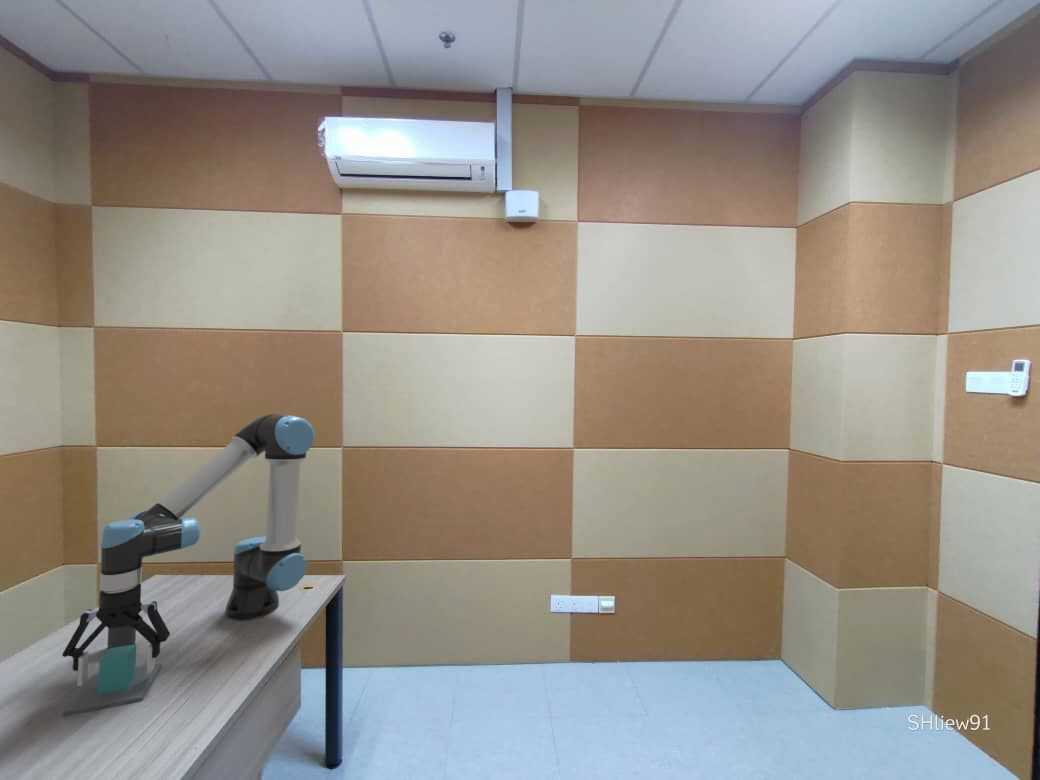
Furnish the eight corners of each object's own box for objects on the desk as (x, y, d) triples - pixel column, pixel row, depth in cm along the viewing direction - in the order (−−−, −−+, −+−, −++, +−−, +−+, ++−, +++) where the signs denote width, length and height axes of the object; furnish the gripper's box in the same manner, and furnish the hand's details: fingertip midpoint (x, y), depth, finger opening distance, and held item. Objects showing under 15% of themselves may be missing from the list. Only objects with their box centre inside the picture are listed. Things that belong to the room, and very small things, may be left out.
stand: (162, 666, 117) (163, 639, 117) (142, 700, 104) (143, 670, 104) (92, 678, 111) (94, 649, 112) (62, 715, 99) (63, 683, 99)
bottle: (118, 654, 121) (120, 599, 121) (101, 651, 122) (103, 596, 123) (140, 643, 127) (143, 590, 127) (124, 640, 128) (126, 587, 128)
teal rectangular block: (134, 676, 111) (136, 644, 111) (126, 689, 107) (127, 655, 107) (107, 681, 109) (109, 648, 109) (98, 694, 104) (99, 660, 105)
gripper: (186, 574, 116) (183, 657, 116) (62, 587, 107) (58, 678, 106) (177, 585, 109) (174, 674, 109) (44, 601, 100) (40, 698, 100)
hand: (117, 676), depth 108 cm, fingers open, 12 cm apart
